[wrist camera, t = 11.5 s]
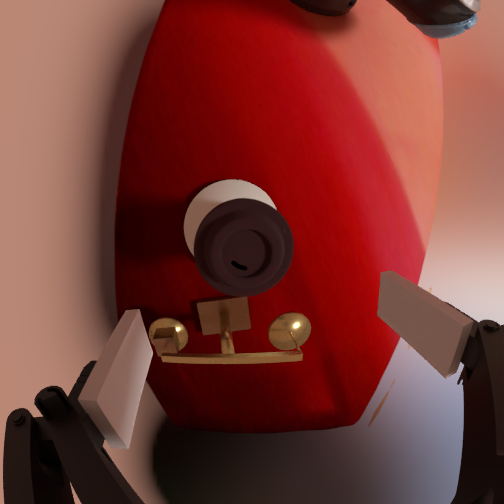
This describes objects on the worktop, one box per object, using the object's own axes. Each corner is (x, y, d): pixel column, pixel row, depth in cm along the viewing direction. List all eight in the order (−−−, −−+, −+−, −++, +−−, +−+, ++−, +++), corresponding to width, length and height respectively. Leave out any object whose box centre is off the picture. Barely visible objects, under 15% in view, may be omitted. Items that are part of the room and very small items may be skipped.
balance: (151, 305, 42) (128, 358, 28) (293, 286, 44) (326, 332, 30) (159, 335, 44) (143, 394, 29) (294, 317, 46) (324, 369, 32)
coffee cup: (247, 180, 38) (268, 180, 23) (279, 239, 41) (314, 271, 26) (187, 215, 38) (171, 235, 23) (221, 271, 41) (227, 320, 26)
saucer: (178, 186, 38) (177, 186, 37) (273, 175, 39) (275, 175, 38) (192, 276, 42) (192, 279, 40) (280, 264, 43) (282, 267, 42)
